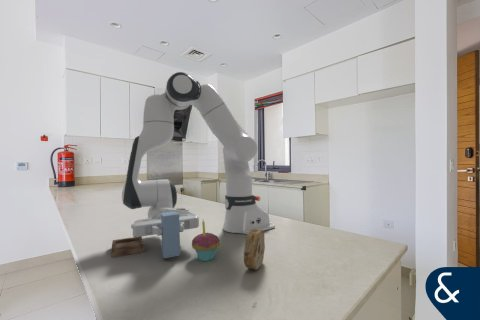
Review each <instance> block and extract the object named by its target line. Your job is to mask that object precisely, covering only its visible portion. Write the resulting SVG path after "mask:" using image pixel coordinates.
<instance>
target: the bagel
mask: <svg viewBox="0 0 480 320" xmlns="http://www.w3.org/2000/svg"><path fill="white" fill-rule="evenodd" d="M265 243H266V242H265V232H264V231H262V230H260V229H254V230H252V231H250V232H249V233H248V234H246V236H245V242H244V250H243V264H244V266H245V267H246V268H248V269H250V270H254V271H257V270H258V269H260V268H261V266H262V265H263V262H264V257H265V251H266V250H265V249H266V247H265V246H266V244H265Z"/></svg>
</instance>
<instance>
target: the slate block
mask: <svg viewBox="0 0 480 320" xmlns="http://www.w3.org/2000/svg"><path fill="white" fill-rule="evenodd" d="M161 228H162V229H163V235H161V253H162V254H161V255H162V257H163V259H168V258H173V257H177V256H181V237H180V236H181V234H180V233H181V232H180V227H179V214H178V213H177V212H176V211H175V212H166V213H161Z"/></svg>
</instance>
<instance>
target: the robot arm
mask: <svg viewBox="0 0 480 320" xmlns="http://www.w3.org/2000/svg"><path fill="white" fill-rule="evenodd" d="M190 106H192V107H195V109H196V110H197V111H198V112H199V114H200V116H201V117H202V119H203V120H204V122H205V124H206V125H207V127H208V128H209V130H210V131H211V132H212V134H213V135H214V136H215V138H216V139H217V140H218V141H219V142H220V143H221V145H222V146H223V147H222V153H223V164H224V172H225V194H226V195H224V196H225V197H224V198H225V199H224V205H225V208H224V209H225V215H224V220H223V221H224V222H223V225H222V230H223V231H225V232H227V233H232V234H244V235H247V234H248V233H249V232H250V231H252V230H254V229H260V230H262V231H263V232H264V231H267V230H271V229H275V228H276V226H275V224H274V222H272V221H270V220H271V219H270V216H269V213H268V211H267V210H265V209H264V208H263V207H261V206H260V205H259V204H258V203H257V202H259V201H261V197H260V196H259V195H253V176H252V173H251V169H250V166H249V165H250V164H249V162H250V161H251V160H252V159H254V158H255V156H256V155H257V152H258V144H257V142H256V141H255V139H254V138H252V137H251V136H250V135H249V134H248V132H246V130H245V129H244V128H243V127H242V126H241V124H240V123H239V122H238V121H237V119H235V117H234V115H233V114H232V112H231V110H230V109H229V107H228V106H227V104H226V103H225V101H224V99H223V98H222V97H221V95H220V94H219V93H218V91H217V90H216V89H215V88H214V87H213V86H212V85H210V84H208V83H207V84H206V83H205V84H201V83H200V82H199V81H198V80H196V79H194V78H193V77H192V76H191V75H190V74H188V73H186V72H182V71H179V72H175V73H173V74H171V76H169V78H168V79H167V82H166V86H165V91H164V92H163V93H162V94H161V93H160V94H159V93H157V94H152V95H150V96H148V97H147V98H146V99H145V103H144V108H143V115H142V116H143V117H142V118H143V121H142V130H141V132H140V134H139V135H138V136H136V137H135V138H134V139H133V142H132V146H131V151H130V155H129V160H128V166H127V172H126V179H125V182H124V185H123V188H122V191H121V201H122V204H123V206H126V208H128V209H130V210H135V209H141V208H145V207H148V211H147V218H145V219H138V220H135V221H134V222H133V224H131V225H130V228H131V230H132V237H142V238H143V237H147V236H152V235H153V236H154V235H157V236H159V237H160V236H162V235H163V229H162V228H161V213H166V212H175V211H176V212H177V213H178V214H179V227H180V233H183V232H184V231H185V230H192V229H198V228H199V227H200V223H199V222H200V217H199V215H197V214H196V213H195V212H192V211H190V210H189V208H175V207H176V205H177V202H178V201H177V199H178V194H177V187H176V185H175V184H174V183H173V182H172V181H171V180H170V179H167V178H166V179H164V178H163V179H151V180H149V179H148V180H147V179H146V180H140V179H139V175H140V169H141V164H142V159H143V157H144V156H145V155H147V153H150V152H152V151H154V150H158V149H160V148H162V147H165V146H166V145H168V144H169V143H170V142H171V141H172V140H173V138H174V132H175V124H174V123H175V121H174V118H175V117H174V116H175V113H178V112H179V113H180V112H183V111H185V110H187V109H188V108H189V107H190ZM256 201H257V202H256Z"/></svg>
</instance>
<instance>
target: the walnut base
mask: <svg viewBox="0 0 480 320" xmlns="http://www.w3.org/2000/svg"><path fill="white" fill-rule="evenodd" d="M110 251H111V258H115V257H122V256H126V255H127V256H128V255H132V254H138V253H139V254H140V253H144V241H143V236H142V237H133V236H132V237H127V238H120V239H113V240H112V243H111V250H110Z"/></svg>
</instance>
